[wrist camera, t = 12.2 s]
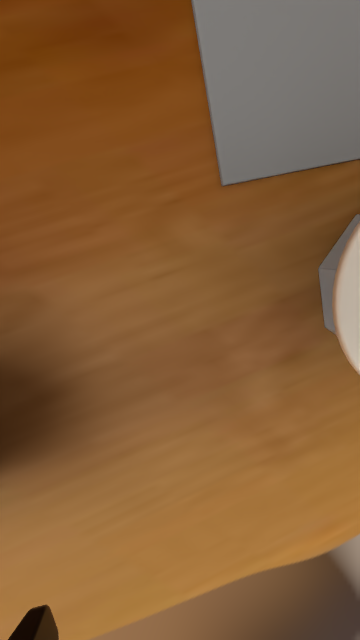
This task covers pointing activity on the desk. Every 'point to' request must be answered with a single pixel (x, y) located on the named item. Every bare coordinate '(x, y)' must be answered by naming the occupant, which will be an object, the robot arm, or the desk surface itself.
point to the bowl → (333, 273)
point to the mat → (280, 83)
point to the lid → (348, 300)
